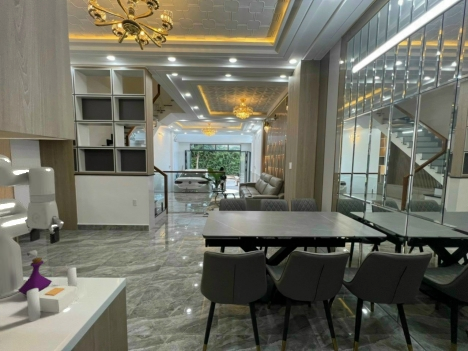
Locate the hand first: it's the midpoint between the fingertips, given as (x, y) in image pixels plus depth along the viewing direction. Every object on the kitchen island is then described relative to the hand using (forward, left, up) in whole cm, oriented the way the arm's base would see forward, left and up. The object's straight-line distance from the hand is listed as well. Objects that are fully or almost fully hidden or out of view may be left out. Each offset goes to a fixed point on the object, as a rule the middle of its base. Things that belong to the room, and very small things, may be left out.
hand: (44, 241), depth 87 cm
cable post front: (+7, -12, -23) cm, 27 cm away
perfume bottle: (-8, +1, -23) cm, 24 cm away
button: (+7, -4, -22) cm, 23 cm away
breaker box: (+7, -4, -23) cm, 24 cm away
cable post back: (+7, +3, -23) cm, 24 cm away
